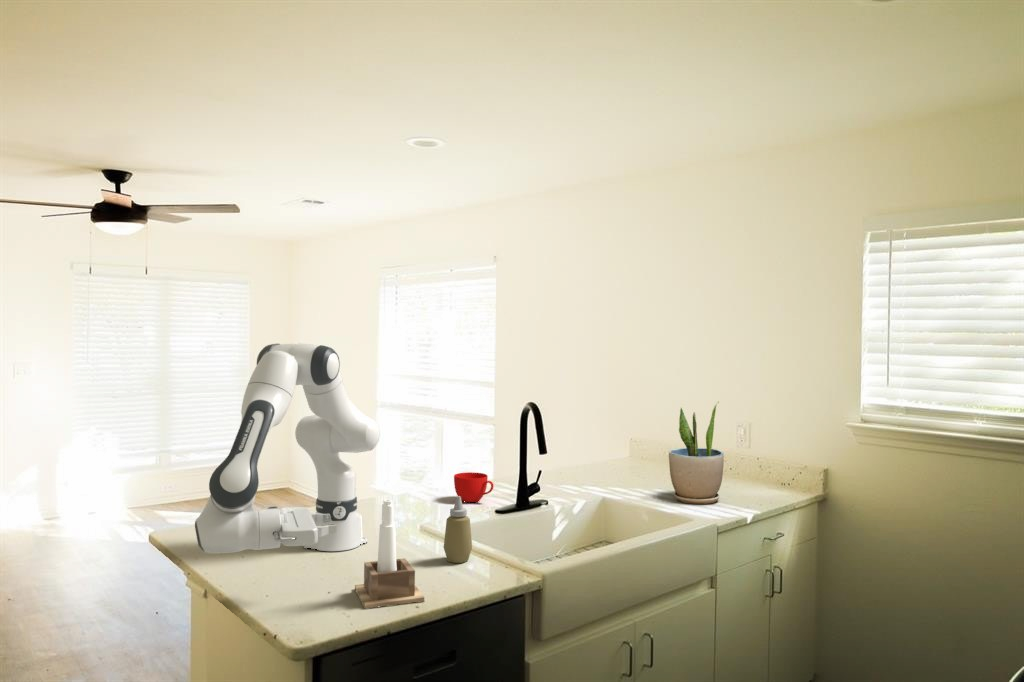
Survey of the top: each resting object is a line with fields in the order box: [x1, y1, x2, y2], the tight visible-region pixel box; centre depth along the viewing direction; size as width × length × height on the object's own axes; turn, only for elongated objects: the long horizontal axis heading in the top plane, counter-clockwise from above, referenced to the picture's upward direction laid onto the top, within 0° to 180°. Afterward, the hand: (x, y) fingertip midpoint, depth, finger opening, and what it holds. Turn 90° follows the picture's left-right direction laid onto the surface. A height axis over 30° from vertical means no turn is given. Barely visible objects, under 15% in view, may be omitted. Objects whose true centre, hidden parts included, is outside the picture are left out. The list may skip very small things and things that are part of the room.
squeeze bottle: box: [443, 495, 473, 564], centre depth 203 cm, size 8×8×18 cm
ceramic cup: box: [453, 471, 494, 503], centre depth 276 cm, size 13×17×10 cm
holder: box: [354, 558, 425, 609], centre depth 174 cm, size 14×14×7 cm
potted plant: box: [668, 401, 725, 505], centre depth 285 cm, size 21×22×40 cm
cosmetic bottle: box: [377, 499, 397, 573], centre depth 174 cm, size 6×6×22 cm
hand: (333, 522), depth 171 cm, fingers open, 8 cm apart
